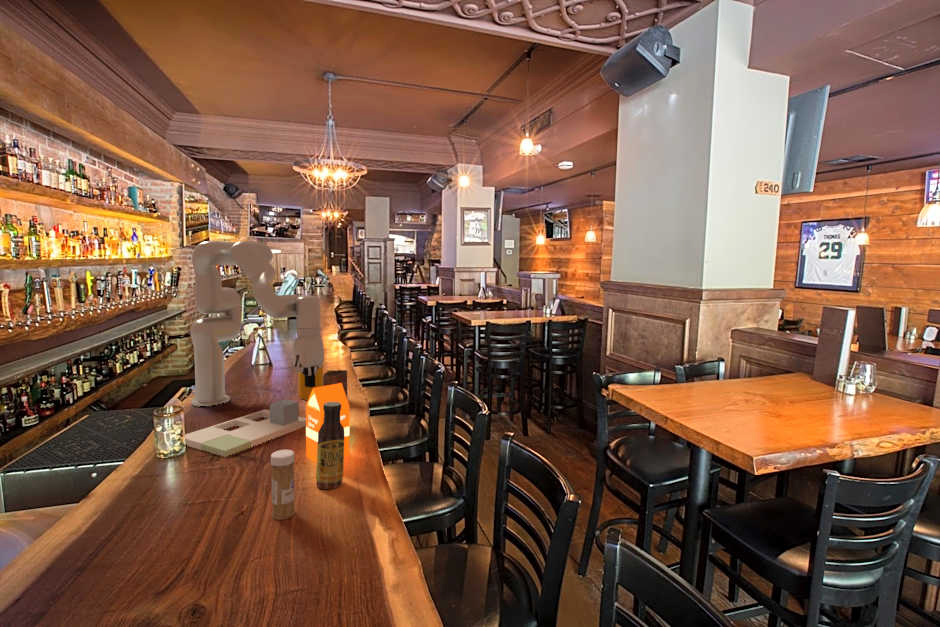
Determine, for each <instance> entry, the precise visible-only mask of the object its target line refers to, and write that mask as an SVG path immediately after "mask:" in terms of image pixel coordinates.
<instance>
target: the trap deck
mask: <svg viewBox="0 0 940 627" xmlns="http://www.w3.org/2000/svg"><path fill="white" fill-rule="evenodd" d="M260 417H261V418H262V417H264V418H263V420H260V421H256V420H258V419H261V418H260ZM257 418H258V419H257ZM266 418H268V419H266ZM254 419H255V420H254ZM233 426H234V427H237V426H239V427H238V428H237V429H234V430H233V429H232V430H228V429H231V428H234V427H233ZM230 427H231V428H230ZM304 427H305V428H306V417H302V416H298V421H295V422H292V423H289V424H287V425H284V426H283V425H279V424H275V423H271V422H270V409H266V408H265V409H261V410H260V411H259V410H258V411H256V412H252V413H248V414H246V415H244V416H240V417H236V418H233V419H231V420H227V421H224V422H221V423H217V424H214V425H212V426H208V427H204V428H202V429H198V430H195V431H191V432H189V433H186V434H184V435H185V441H186V444H187V447H189V448H191V449H192V448H193V449H195V450H199V451H202V450H203V451H202V452H205V451H207V452H206V453H208V452H210V453H209V454H212V453H213V455H215V454H217V455H216V456H218V455H221V456H220V457H222V456H223V457H222V458H225V457H226V458H228V457H230V456H229V455H231V456H233V455H235V453H236V454H238V453H240V452H239V451H241V452H243V451H246V450H248V449H247V448H249V449H251V448H253V446H254V447H256V446H258V444H259V445H261V444H264V443H267V442H269V441H272V440H274V439H276V437H277V438H279V437H282V436H284V435H287V434H290V433H291V432H295V431H298V430H300V429H303V428H304ZM227 428H228V429H227ZM224 429H225V430H224ZM271 439H272V440H271ZM268 440H269V441H268ZM266 441H267V442H266ZM263 442H264V443H263ZM255 445H256V446H255ZM250 447H251V448H250ZM245 449H246V450H245ZM242 450H243V451H242ZM237 452H238V453H237ZM232 454H233V455H232ZM227 456H228V457H227Z"/></svg>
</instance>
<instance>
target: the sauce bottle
mask: <svg viewBox="0 0 940 627" xmlns="http://www.w3.org/2000/svg"><path fill="white" fill-rule="evenodd" d="M323 410H324V420H323V421H324V422H323V424H322V426H321V428H320V430H319V432H318V443H317V463H316V467H315V468H316V469H315V470H316V472H315V479H316V484H315V485H316V486H317V488H319V489H322V490H333V489H335V488H338V487H340V486H341V485H342V483H343V478H344V467H345V466H344V462H345V458H344V428H343V426H342V424H341V423H340V410H341V403H339V402H326V403H324V406H323Z"/></svg>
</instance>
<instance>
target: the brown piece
mask: <svg viewBox="0 0 940 627" xmlns="http://www.w3.org/2000/svg"><path fill="white" fill-rule="evenodd" d="M338 383H342V386H343V389H344V392H345V395H346V398H347V399H348V370H345V369H337V370H335V369H334V370H331V369H330V370H327V371H326V372H324V373H323V386H328V385H333V384H338Z"/></svg>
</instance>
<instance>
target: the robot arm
mask: <svg viewBox="0 0 940 627" xmlns="http://www.w3.org/2000/svg"><path fill="white" fill-rule="evenodd" d="M272 260H273V252H272V250H271V247H270V246H269V245H268V244H266V243H264V242H261V241H251V240H250V241H248V240H241V241H237V242H231V241H221V240H207V241H202V242H200V243H199V244H197V245H196V246H195V247H194V249H193V252H192V255H191V262H192V268H193V273H194V299H195V300H194V303H195V304H194V305H195V309H196V311H197V312H198V313H200V314H204V315H212V314H219V316H211V317H203V318H199V319H198V320H195V321H194V322H193V323H192V324H191V326H190V329H189V330H190V331H189V332H190V339H191V342H192V346H193V355H194V357H193V358H194V378H195V379H194V380H195V382H194V383H195V389H194V390H192V391H191V394H192V395H194V397H193V398H192V399H191V401H190V405H192V406H194V407H200V406H206V407H213V406H212V405H216V406H219V405H218V404H220V405H223V404H222V403H224V404H226V403H228V402H230V400H231V398H230V396H229V395H227V394H226V383H225V382H226V381H225V379H226V378H225V354H224V351H223V349H222V347H221V346H220V344H219V343H221V342H228V341H232V340H235V339H237V338H238V336H239V335H240V333H241V329H242V327H241V326H242V302H241V297H240V295H239V293H238V292H237V291H236V290H235V289H234V288H231V287H222V285H223V284H222V280H223V278H222V275H221V273H220V270H219V268H218V267H217V266H238V268H239V269H241V270H242V272H243V273H244V275H246V277H247V278H248V279H249V280H250V282H252V294H253V297H254V299H255V302H256V303H257V304H258V306H259V307H260V308H261V310H262V311H263V312H264V313H266V314H265V315H267V316H269V317H271V318H273V319H283V318H284V319H285V318H292V317H293V318H294V317H296V337H295V339H294V342H293V349H292V364H293V365H292V366H293V367H294V368H295V372H297V373H299V372H302V373H303V375H305V387H311V388H312V387H315V375H316V374H317V370H318V368H320V367H322V363H323V364H324V361H325V360H324V359H325V352H324V351H325V350H324V342H323V337H322V335H321V334H322V328H321V302H320V298H319V297H318V296H315V295H300V294H282V295H281V294H280V295H278V294H276V292H275V291H274V290H273V289H272V288H271V286H270V285H269V283H270V282H272V281H273V279H274V278H275V276H276V273H277V272H276V269H275V268H274V267H273V265H272V264H271V261H272Z"/></svg>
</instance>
